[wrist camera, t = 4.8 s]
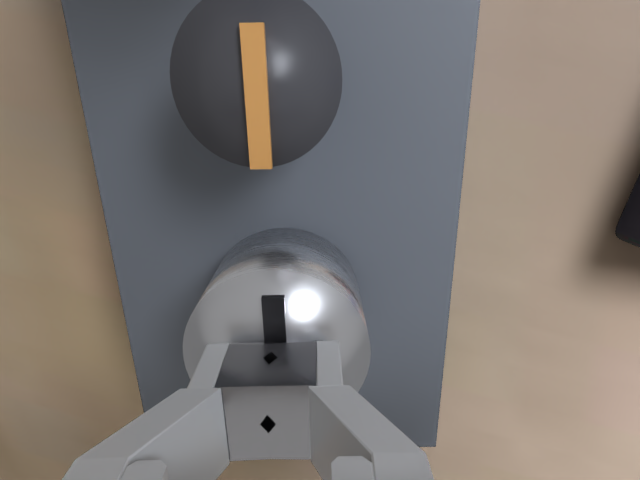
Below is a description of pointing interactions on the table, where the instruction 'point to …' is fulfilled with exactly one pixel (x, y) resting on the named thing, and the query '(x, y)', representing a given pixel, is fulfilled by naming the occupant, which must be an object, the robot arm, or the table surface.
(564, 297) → the table surface
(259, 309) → the knob
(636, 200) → the calculator
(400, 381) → the panel
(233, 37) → the dial
